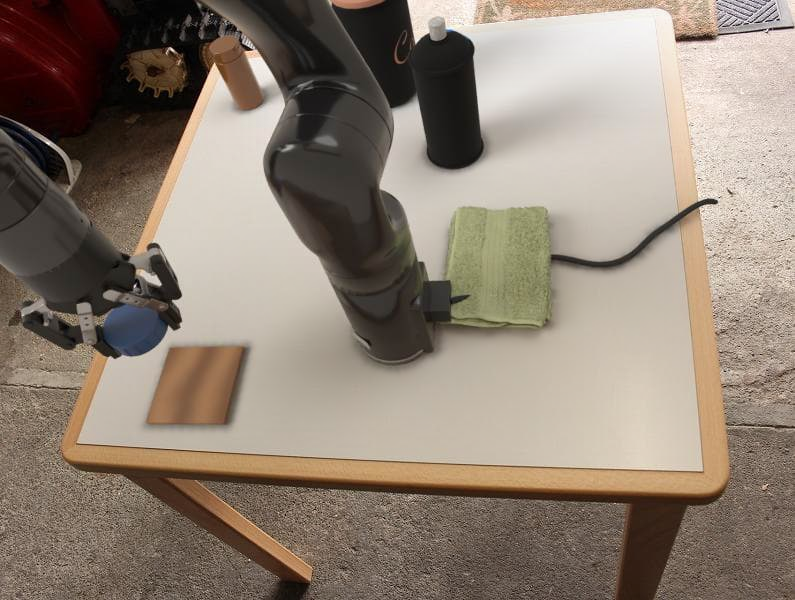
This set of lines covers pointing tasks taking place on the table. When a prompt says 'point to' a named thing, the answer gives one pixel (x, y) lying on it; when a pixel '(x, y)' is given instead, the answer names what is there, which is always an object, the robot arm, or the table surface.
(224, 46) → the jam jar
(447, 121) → the aerosol can
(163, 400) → the mat
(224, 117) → the table surface
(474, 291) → the washcloth
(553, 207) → the table surface
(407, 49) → the coffee jar
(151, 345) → the jar lid
